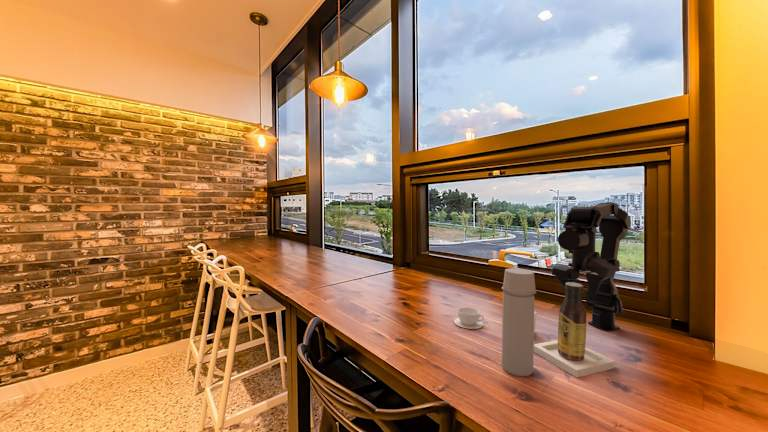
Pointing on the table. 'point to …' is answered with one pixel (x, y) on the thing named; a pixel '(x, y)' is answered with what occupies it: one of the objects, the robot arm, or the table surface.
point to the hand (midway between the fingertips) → (582, 298)
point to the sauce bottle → (572, 324)
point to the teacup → (469, 318)
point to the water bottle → (518, 321)
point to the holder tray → (587, 366)
